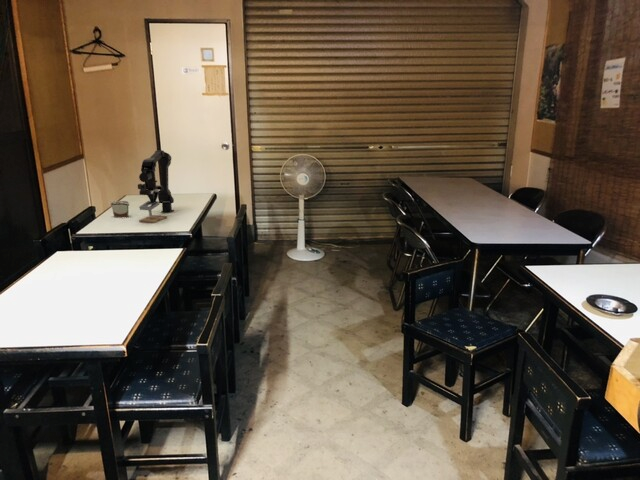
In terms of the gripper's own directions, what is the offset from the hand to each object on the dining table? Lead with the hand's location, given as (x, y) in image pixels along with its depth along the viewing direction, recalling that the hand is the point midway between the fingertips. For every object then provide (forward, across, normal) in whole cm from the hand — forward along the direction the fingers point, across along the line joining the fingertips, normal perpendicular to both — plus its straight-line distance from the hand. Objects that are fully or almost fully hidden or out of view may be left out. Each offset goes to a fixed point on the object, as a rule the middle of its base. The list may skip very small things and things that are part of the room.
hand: (153, 203), depth 322 cm
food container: (+11, -1, -25) cm, 28 cm away
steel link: (+2, +4, 0) cm, 4 cm away
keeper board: (+11, +2, 0) cm, 11 cm away
